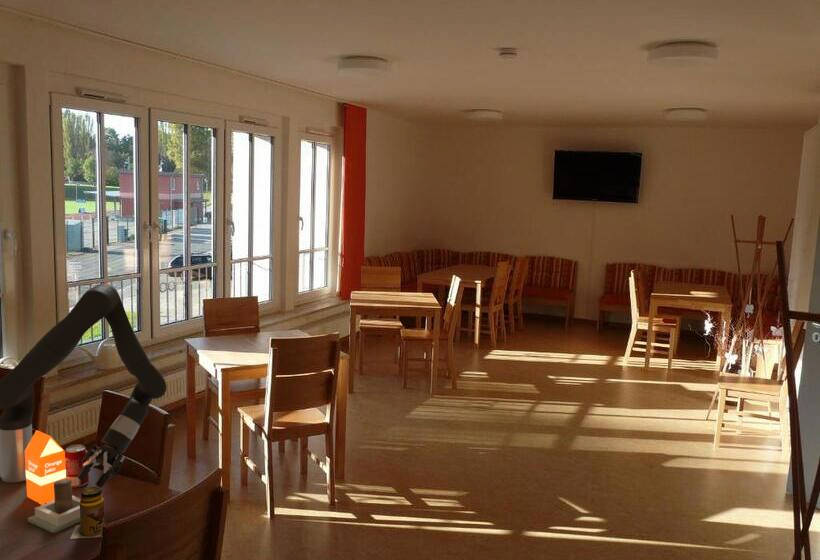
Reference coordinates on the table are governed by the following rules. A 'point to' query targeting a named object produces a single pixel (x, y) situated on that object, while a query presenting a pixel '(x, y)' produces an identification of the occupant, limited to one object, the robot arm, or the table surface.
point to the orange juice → (43, 467)
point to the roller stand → (56, 516)
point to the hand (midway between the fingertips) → (88, 482)
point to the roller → (63, 495)
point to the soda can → (75, 464)
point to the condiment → (90, 514)
